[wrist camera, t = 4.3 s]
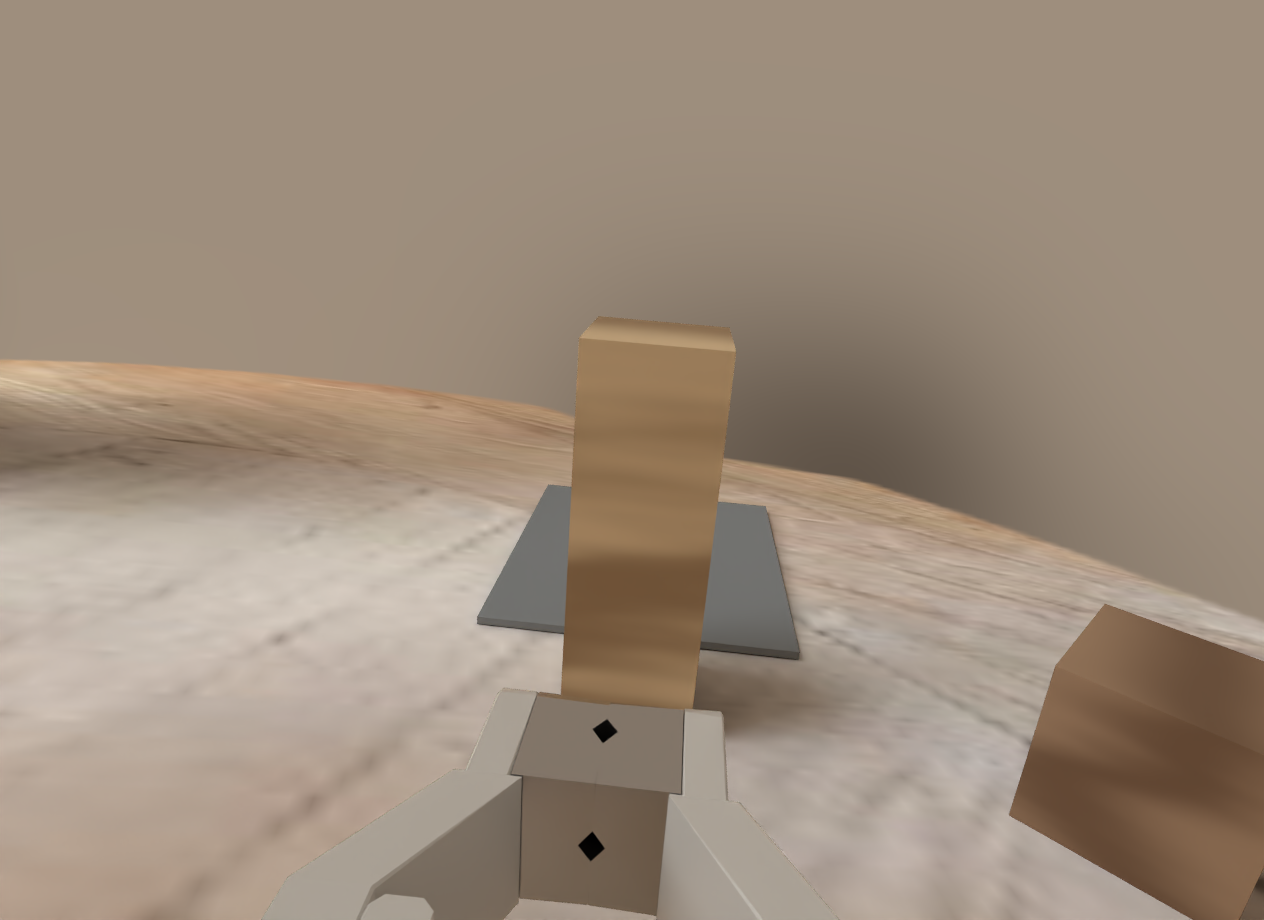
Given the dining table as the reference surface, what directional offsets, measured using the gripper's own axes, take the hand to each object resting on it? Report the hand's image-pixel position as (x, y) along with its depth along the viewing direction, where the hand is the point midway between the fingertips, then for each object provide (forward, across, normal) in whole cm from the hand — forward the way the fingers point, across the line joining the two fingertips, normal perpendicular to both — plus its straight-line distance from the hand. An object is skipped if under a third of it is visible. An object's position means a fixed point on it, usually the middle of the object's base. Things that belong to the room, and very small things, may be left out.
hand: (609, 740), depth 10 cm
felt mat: (+23, 0, +8) cm, 24 cm away
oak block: (+12, 0, +8) cm, 15 cm away
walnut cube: (+9, -14, +9) cm, 19 cm away
